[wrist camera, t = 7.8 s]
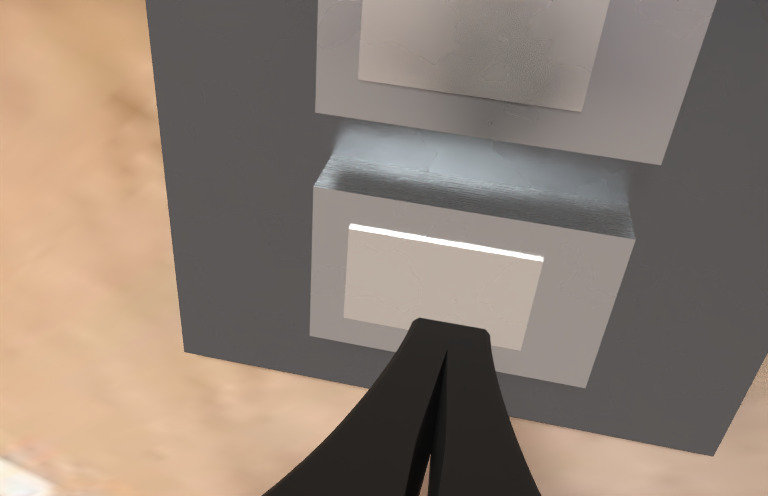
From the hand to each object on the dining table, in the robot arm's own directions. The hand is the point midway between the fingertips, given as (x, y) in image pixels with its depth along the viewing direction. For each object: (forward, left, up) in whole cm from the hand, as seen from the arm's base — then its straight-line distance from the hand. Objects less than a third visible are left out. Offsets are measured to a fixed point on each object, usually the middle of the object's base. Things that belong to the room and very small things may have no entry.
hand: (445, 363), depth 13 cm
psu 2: (0, +2, -8) cm, 8 cm away
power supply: (0, -5, -8) cm, 9 cm away
